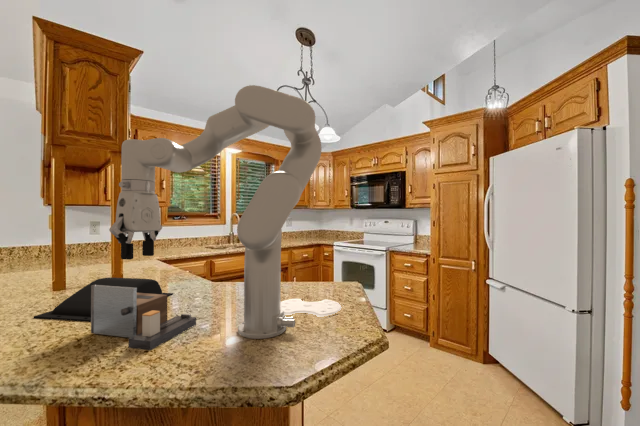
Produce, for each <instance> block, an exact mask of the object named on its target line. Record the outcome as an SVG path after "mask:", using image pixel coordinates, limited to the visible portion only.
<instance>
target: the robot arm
mask: <svg viewBox="0 0 640 426" xmlns="http://www.w3.org/2000/svg"><path fill="white" fill-rule="evenodd" d="M269 126H271V127H274V128H278V129H280V130H283V133H284V135H285V137H286V138H287V139H288V141H289V142H290V150H289V151H288V153H287V155H285V157H284V159H283V161H282V163H281V165H280V166H279V168H278V169H277V171H273V172H271V173H269V174H268V175H266V177H265V178H264V179H263V180H262V181H261V183H260V184H259V185H258V188H257V189H256V191H255V193H254V194H253V196H252V197H251V199H250V201H249V202H248V205H247V206H246V207H245V210H244V211H243V213H242V215H241V217H240V219H239V221H238V222H237V226H236V227H237V228H236V234H237V237H238V238H237V239H239V241H240V243H241V244H242V245H243V246H244V248H245V249H244V265H243V266H244V269H243V270H244V271H243V272H244V274H243V278H244V279H243V282H244V283H243V289H244V290H243V321H242V322H241V323H239V325H238V326H237V333H238V334H239V335H240V336H242V337H244V338H247V339H252V340H253V339H258V340H261V339H268V338H274V337H277V336H279V335H282V334H283V333H284V332H285V331H286V330H287V328H295V326H296V320H295V318H294V317H293V316H291V317H286V316H285V315H284V311H282V310H281V302H282V301H281V300H282V299H281V295H282V294H281V290H282V289H281V276H282V275H281V273H282V263H281V262H282V257H281V256H282V234H283V233H282V230H283V227H284V225H285V223H286V221H287V220H288V218H289V216H290V215H291V212H292V211H293V210H294V207H296V206H297V205H298V203H299V201H300V199H301V197H302V194H303V192H304V191H305V188H306V186H307V185H308V183H309V182H310V179H311V177H312V176H313V174H314V171H315V170H316V168H317V166H318V164H319V162H320V160H321V157H322V141H321V138H320V136H319V133H318V130H317V129H316V113H315V110H314V108H313V106H312V105H311V104H310V103H309V102H308V101H306V100H305V99H303V98H301V97H298V96H295V95H292V94H289V93H285V92H281V91H279V90H276V89H272V88H269V87H266V86H261V85H256V84H255V85H254V84H253V85H251V84H249V85H246V86H243V87H241V89H239V90H238V91H237V93H236V95H235V98H234V105H232V106H230V107H228V108H226V109H224V110H221V111H219V112H217V113H215V114H212V115H211V116H209V117H208V118H207V120H206V122H205V127H204V130H203V131H202V132H201V134H200V135H198V136H197V137H195V138H194V139H192V140H190V141H188V142H186V143H183V144H179V143H177V142H175V141H173V140H171V139H169V138H165V137H155V138H151V139H144V140H143V139H136V138H135V139H134V138H130V139H126V140H124V141H122V144H121V168H120V169H121V177H120V178H121V181H120V182H119V183H118V187H120V188H121V189H120V192H119V195H118V198H117V203H116V210H115V211H116V212H115V222H114V223H113V224H112V225H111V226H110V227H109V228H108V230H109V232H110V233H111V234H112V235H113V236H114V238H115V239H116V240H117V242H118V244H120V259H121V260H128V261H129V260H133V259H134V243H133V242H132V240H133V238H134V234H135V233H141V232H142V236H143V239H144V240H142V243H141V244H142V249H141V251H142V253H141V254H142V256H143V257H153V256H154V255H155V241H157V237H158V235H159V234H160V232H161V230H162V229H163V225H162V224H161V210H160V203H159V202H160V201H159V198H158V194H156V167H157V168H161V169H164V170H167V171H171V172H174V173H184V172H185V173H186V172H188V171H191V170H193V169H195V168H197V167H200V166H201V165H203V164H206V163H208V162H209V161H211V160H212V159H214V158H216V157H217V155H219V154H220V153H222V151H224V149H225V148H227V147H229V146H231V145H233V144H236V143H238V142H240V141H242V140H244V139H246V138H248V137H250V136H253V135H255V134H257V133H260V132H261V131H263V130H265V129H267V128H268V127H269Z"/></svg>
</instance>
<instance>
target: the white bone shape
mask: <svg viewBox="0 0 640 426" xmlns="http://www.w3.org/2000/svg"><path fill="white" fill-rule="evenodd" d="M301 299H302V298H296V297H295V298H290V299H285V300H282V301H281V310H282V311H284V315H292V314H295V313H308V314H307V315H309V314H313V315H316V316H317V317H324V316H328V315H332V314H335V313H337V312H338V311H340V310H341V308H342V307H341V305H340V304H341V303H340V302H337V301H336V300H335V301H334V300H331V299H327V298H326V299H325V298H324V299H322V300H319V301H305V300H303V301H302V300H301ZM339 303H340V304H339ZM313 315H312V316H313Z"/></svg>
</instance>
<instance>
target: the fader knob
mask: <svg viewBox="0 0 640 426" xmlns="http://www.w3.org/2000/svg"><path fill="white" fill-rule="evenodd" d="M159 332H160V311H155V310H152V311H149V312H147V313H144V314H142V336H148V337H151V336H153V335H155V334H157V333H159Z"/></svg>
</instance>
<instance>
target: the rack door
mask: <svg viewBox="0 0 640 426" xmlns="http://www.w3.org/2000/svg"><path fill="white" fill-rule="evenodd" d="M136 315H137V288H133V287H119V286H104V285H91V322H90V334H97V335H104V336H105V335H106V336H112V337H113V336H114V337H123V338H128V339H129V338H131V337H133V336H136Z"/></svg>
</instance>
